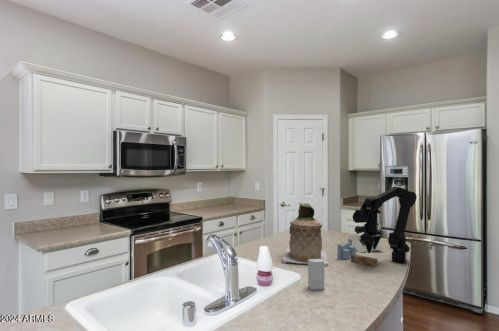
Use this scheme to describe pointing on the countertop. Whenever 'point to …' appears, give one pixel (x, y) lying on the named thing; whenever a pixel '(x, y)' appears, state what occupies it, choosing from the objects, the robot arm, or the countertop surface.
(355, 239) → the pale grey slotted block
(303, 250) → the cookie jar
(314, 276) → the skincare box
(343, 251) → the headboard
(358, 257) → the rail
